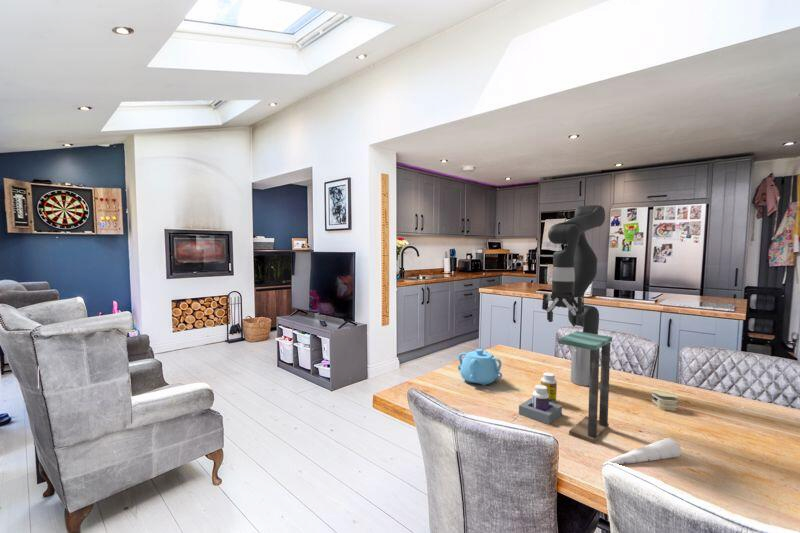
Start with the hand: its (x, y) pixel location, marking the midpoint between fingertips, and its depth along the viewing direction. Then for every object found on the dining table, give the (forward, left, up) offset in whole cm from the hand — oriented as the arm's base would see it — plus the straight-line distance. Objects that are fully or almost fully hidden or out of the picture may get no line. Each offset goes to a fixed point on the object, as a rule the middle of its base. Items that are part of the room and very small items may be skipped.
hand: (562, 323), depth 136 cm
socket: (+14, -1, -30) cm, 33 cm away
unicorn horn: (+21, +31, -30) cm, 48 cm away
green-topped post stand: (+14, +13, -30) cm, 35 cm away
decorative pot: (+2, -34, -30) cm, 46 cm away
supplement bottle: (+1, -4, -30) cm, 30 cm away
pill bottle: (+14, -1, -30) cm, 33 cm away
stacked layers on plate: (-23, +28, -31) cm, 47 cm away
